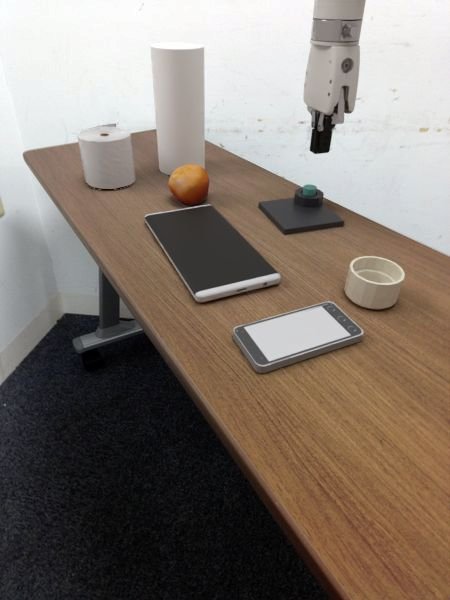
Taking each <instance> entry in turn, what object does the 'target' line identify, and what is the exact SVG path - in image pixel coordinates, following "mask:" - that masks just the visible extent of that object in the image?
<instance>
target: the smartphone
mask: <svg viewBox="0 0 450 600" xmlns="http://www.w3.org/2000/svg"><path fill="white" fill-rule="evenodd" d="M363 336H364V329H362V328H361V327H360V326H359V325H358V324H357V323H356V322H355V321H354V320H353V319H352V318H351V317H350V316H348V314H346V312H345V311H344V310H342V309H341V308H340V307H339V306H338V305H337V304H336V303H335V302H332V301H329V300H328V301H323V302H319V303H316V304H313V305H309V306H305V307H302V308H299V309H298V308H297V309H295V310H291V311H288V312H287V311H286V312H283V313H280V314H276V315H273V316H270V317H266V318H262V319H259V320H254V321H252V322H248V323H244V324H241V325H238V326H235V327H234V328H233V330H232V339H233V340H234V342H235V344H236V345H237V346H238V348H239V350H240V351H241V352H242V353H243V355H244V356H245V358H246V359H247V361H248V362H249V364H250V366H251V367H252V369H253V370H254V371H255V372H256V373H259V374H265V373H269V372H271V371H274V370H278V369H281V368H284V367H287V366H290V365H292V364H296V363H299V362H302V361H305V360H308V359H311V358H314V357H317V356H321V355H323V354H326V353H329V352H333V351H336V350H338V349H341V348H345V347H347V346H350V345H353V344H357V343H359V342H361V341H362V339H363Z"/></svg>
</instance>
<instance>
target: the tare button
mask: <svg viewBox="0 0 450 600" xmlns="http://www.w3.org/2000/svg"><path fill="white" fill-rule="evenodd" d="M302 188H303V192H302V194H303V195H306V196H316V191H317V189H318V187H317V186H316V185H315V184H304V185H303V187H302Z"/></svg>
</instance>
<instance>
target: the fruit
mask: <svg viewBox="0 0 450 600" xmlns="http://www.w3.org/2000/svg"><path fill="white" fill-rule="evenodd" d="M169 176H170V177H169V179H168V189H169V191H170V192H171V194H172V196H173V197H174V198H175V199H176V200H178V201H179V202H181V203H184V204H186V205H189V206H196V205H199V204H201V203H203V202H204V201H205V200H208V195H209V188H210V180H209V174H208V172H207V170H206V168H205V169H203V168H202V167H201V166H199V165H195V164H187V165H185V166H181V167H179V168H177V169H176V170H175V171H174V172H173V173H172V174H171V175H169Z"/></svg>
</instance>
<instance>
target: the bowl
mask: <svg viewBox="0 0 450 600" xmlns="http://www.w3.org/2000/svg"><path fill="white" fill-rule="evenodd" d="M405 276H406V273H405V271H404V269H403V267H401V266H400V265H399V264H398V263H396V261H395V262H394V261H392V260H390V259H388V258H384V257H380V256H376V255H375V256H374V255H364V256H358V257H356V258H354V259H352V260H351V261H350V264H349V266H348V271H347V275H346V279H345V284H344V293H345V296H347V298H348V299H349V300H350V301H351V302H352V303H354V304H356V305H357V306H359V307H361V308H364V309H368V310H384V309H387V308H391V307H392V306H394V305H395V304H396V303H397V301H398V298H399V295H400V292H401V289H402V286H403V283H404V280H405Z"/></svg>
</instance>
